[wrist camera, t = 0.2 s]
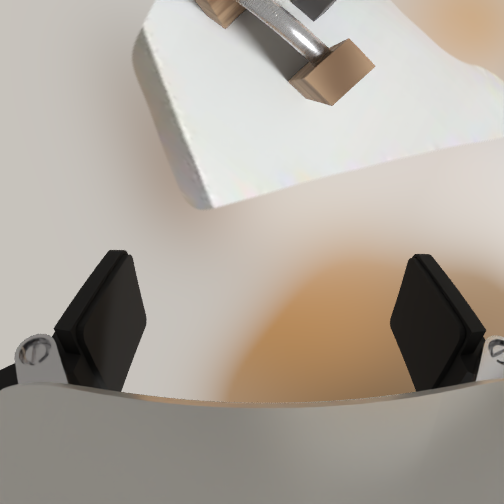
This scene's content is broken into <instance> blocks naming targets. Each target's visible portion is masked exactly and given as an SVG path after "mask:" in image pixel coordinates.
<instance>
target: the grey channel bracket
mask: <svg viewBox="0 0 504 504" xmlns="http://www.w3.org/2000/svg"><path fill="white" fill-rule="evenodd" d="M335 1H336V0H293V2H292V3H293V4H294V5H295V6H296V7H297V8H299V9H300V10H301V11H302V12H303V13H305V14H306V15H307V16H308V17H309V18H310V19H311V20H313V21H315V20H316V19H317V18H319V17H320V16H321V15H322V14H323V13H325V12H326V11H327V10H328V9H329V7H330V6H331V5H332V4H333V3H334V2H335Z"/></svg>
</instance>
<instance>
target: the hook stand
mask: <svg viewBox="0 0 504 504" xmlns="http://www.w3.org/2000/svg"><path fill="white" fill-rule="evenodd" d="M195 2H196V3H197V4H198V5H199V6H200V8H201V9H202V10H203V11H204V13H205V14H206V15H207V16H208V17H210V18H211V19H212V20H214V21H215V22H216V23H218V24H219V25H221V26H222V27H223V28H225V29H226V28H227V27H228V26H229V25H230V24H231V23H232V22H233V21H234V20H235V19H236V18H237V17H238V16H239V15H240V14H241V13H243V12H244V11H245V10H246V9H247V10H249V11H250V12H251V13H253V14H254V15H255V16H256V17H258V18H259V19H260V20H261V21H263V22H264V23H265V24H266V25H268V26H269V27H270V28H271V29H273V30H274V31H275V32H276V33H277V34H279V35H280V36H281V37H282V38H283V39H284V40H286V41H287V42H288V43H289V44H290V45H291V46H292V47H294V48H295V49H296V50H297V51H298V52H299V53H300V54H301V55H302V56H304V57H305V58H306V59H307V60H308V61H309V62H308V63H307V64H306V65H305V66H304V67H303V68H302V69H301V70H299V71H298V72H297V73H296V74H295V75H294V76H293V77H292V78H291V79H290V80H289V81H288V82H289V83H290V84H291V85H292V86H293V87H294V88H295V89H297V90H298V91H299V92H300V93H301V94H302V95H303V96H304V97H305V98H306V99H310V100H313V101H317V102H321V103H324V104H327V105H331V106H333V105H334V104H335V103H336V102H337V101H338V100H339V99H340V98H341V97H342V96H343V95H344V94H346V93H347V92H348V91H349V90H350V89H351V88H352V87H353V86H354V85H355V84H357V83H358V82H359V81H360V80H361V79H362V78H363V77H364V76H365V75H366V74H368V73H369V72H370V71H371V70H372V69H373V68H374V67H375V65H374V64H373V63H372V62H371V61H370V60H369V59H368V58H367V57H366V55H365V54H364V53H363V52H362V51H361V50H360V49H359V48H358V47H357V46H356V45H355V44H354V43H353V42H352V41H351V40H350V39H347V40H344V41H342V42H340V43H338V44H336V45H334V46H332V47H330V48H328V47H327V46H326V45H325V44H324V43H323V42H322V41H321V40H320V39H318V38H317V37H316V36H315V35H314V34H313V33H312V32H311V31H310V30H309V29H307V28H306V27H305V26H304V25H303V24H302V23H301V22H299V21H298V20H297V19H296V18H295V17H294V16H292V15H291V14H290V13H289V12H287V11H286V10H285V9H284V8H283V7H281V6H280V5H279V4H278V3H276V2H275V1H274V0H195Z"/></svg>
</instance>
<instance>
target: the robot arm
mask: <svg viewBox="0 0 504 504" xmlns="http://www.w3.org/2000/svg"><path fill="white" fill-rule="evenodd" d="M145 326H146V314H145V310H144V306H143V302H142V298H141V293H140V289H139V285H138V280H137V276H136V272H135V267H134V262H133V258H132V256H131V255H128V253H127V252H126V251H124V250H109V251H108V252H107V254H106V255H105V256H104V258H103V259H102V260H101V262H100V263H99V264H98V266H97V267H96V268H95V270H94V271H93V272H92V274H91V275H90V277H89V278H88V279H87V281H86V282H85V283H84V285H83V286H82V288H81V289H80V290H79V292H78V293H77V295H76V296H75V298H74V299H73V301H72V302H71V303H70V305H69V307H68V308H67V309H66V311H65V312H64V314H63V315H62V317H61V318H60V320H59V321H58V323H57V324H56V326H55V328H54V330H55V333H54V334H53V336H52V337H51V336H49V335H46V334H36V335H33V336H30V337H29V338H27V339H26V340H24V341H23V342H22V343H21V344H20V345H19V347H18V348H17V350H16V352H15V364H12V365H10V366H8V367H6V368H4V369H2V370H0V504H504V338H503V337H500V336H492V337H489V338H488V339H486V340H485V339H484V337H483V335H484V333H485V332H486V329H485V328H484V326H483V325H482V323H481V322H480V320H479V319H478V317H477V316H476V314H475V313H474V312H473V310H472V309H471V307H470V306H469V304H468V303H467V302H466V301H465V299H464V297H463V296H462V295H461V293H460V292H459V291H458V289H457V288H456V287H455V285H454V284H453V283H452V282H451V280H450V279H449V278H448V276H447V275H446V274H445V272H444V271H443V270H442V268H441V267H440V266H439V265H438V263H437V262H436V261H435V260H434V258H433V257H432V256H431V255H429V254H415V255H414V256H413V257H412V258H410V259H409V260H408V263H407V267H406V270H405V274H404V277H403V281H402V284H401V288H400V291H399V294H398V297H397V301H396V304H395V307H394V310H393V313H392V316H391V319H390V326H391V329H392V332H393V334H394V336H395V339H396V341H397V344H398V346H399V348H400V351H401V353H402V356H403V358H404V361H405V363H406V366H407V368H408V371H409V373H410V376H411V379H412V381H413V384H414V386H415V389H416V392H412V393H405V394H398V395H391V396H382V397H374V398H363V399H352V400H341V401H340V400H339V401H324V402H302V403H238V402H215V401H199V400H185V399H175V398H165V397H156V396H147V395H140V394H132V393H125V392H121V390H122V388H123V385H124V382H125V379H126V377H127V374H128V371H129V368H130V366H131V363H132V360H133V358H134V354H135V352H136V350H137V347H138V345H139V342H140V339H141V337H142V334H143V331H144V329H145Z"/></svg>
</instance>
